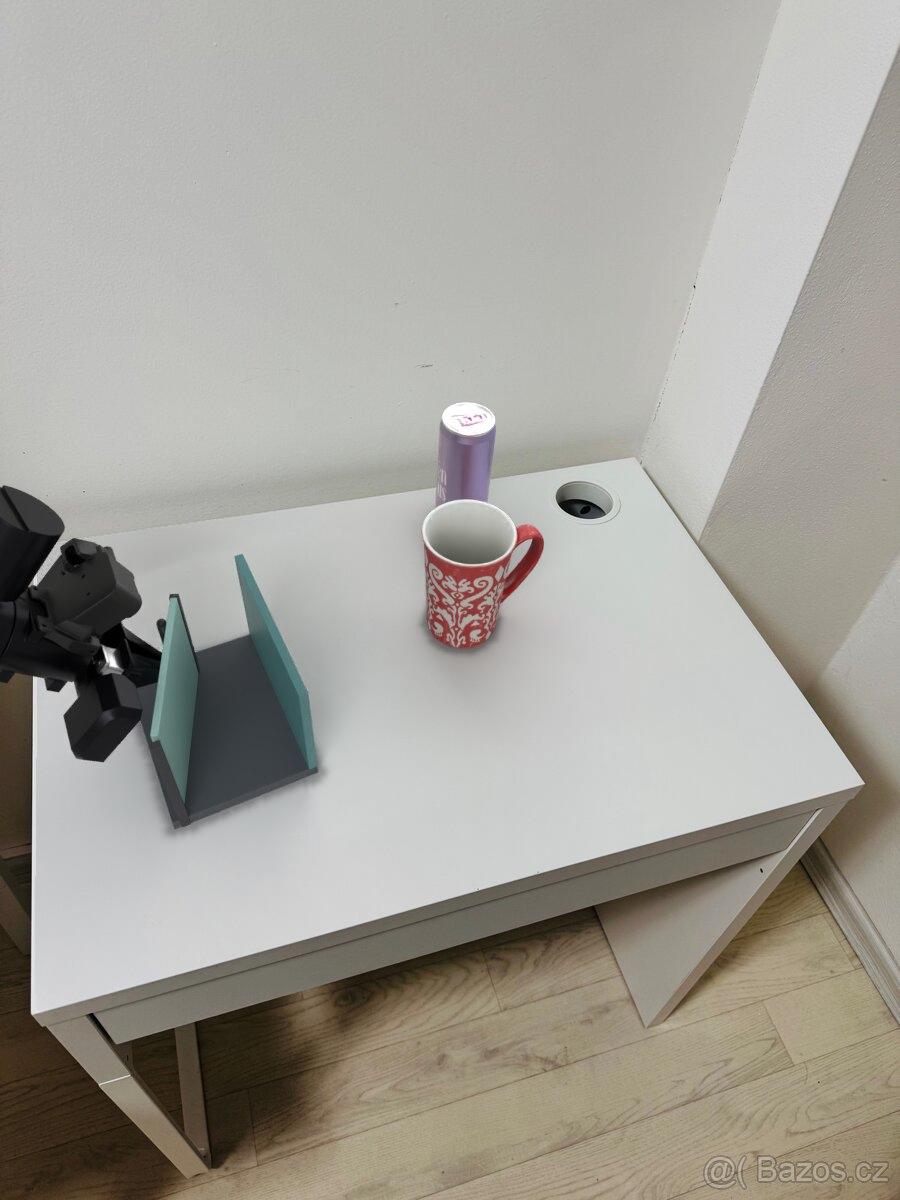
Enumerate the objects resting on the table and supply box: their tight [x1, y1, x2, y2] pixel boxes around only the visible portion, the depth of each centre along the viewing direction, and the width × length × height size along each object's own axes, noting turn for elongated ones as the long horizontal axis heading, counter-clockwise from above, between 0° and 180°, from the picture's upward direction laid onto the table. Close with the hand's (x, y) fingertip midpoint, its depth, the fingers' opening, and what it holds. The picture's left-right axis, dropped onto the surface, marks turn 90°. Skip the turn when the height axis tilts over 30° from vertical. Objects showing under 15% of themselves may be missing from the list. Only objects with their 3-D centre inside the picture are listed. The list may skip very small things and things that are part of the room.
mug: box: [421, 500, 545, 649], centre depth 84 cm, size 13×9×14 cm
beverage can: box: [434, 402, 497, 509], centre depth 93 cm, size 6×6×15 cm
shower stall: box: [136, 553, 319, 830], centre depth 74 cm, size 13×17×12 cm
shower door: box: [150, 593, 200, 804], centre depth 72 cm, size 2×14×11 cm, turn 6°
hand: (172, 669), depth 74 cm, fingers closed
